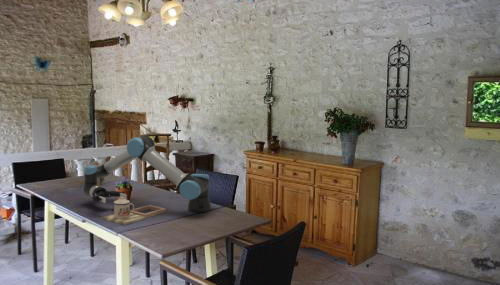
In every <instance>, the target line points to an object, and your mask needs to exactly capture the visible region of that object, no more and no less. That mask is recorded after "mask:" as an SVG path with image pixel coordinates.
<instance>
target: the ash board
mask: <svg viewBox="0 0 500 285" xmlns="http://www.w3.org/2000/svg"><path fill="white" fill-rule="evenodd" d="M103 220H104V221H108V222H111V223H116V224H119V225H121V226H122V225H123V226H127V225H130V224H134V223H137V222H140V221H143V220H146V218H145V216H141V215H137V214H133V213H130V217H129V218H126V219H116V218H114V213H113V214H110V215H105V216H103Z"/></svg>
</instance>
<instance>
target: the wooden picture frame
mask: <svg viewBox="0 0 500 285" xmlns="http://www.w3.org/2000/svg"><path fill="white" fill-rule="evenodd" d="M147 210H152V211H149V212H143V211H147ZM130 213H133V214H137V215H141V216H145V219H147V218H150V217H153V216H157V215H159V214H160V215H161V214H164V213H167V208H165V207H161V206H157V205H156V206H155V205H152V204H147V205H144V206H140V207H137V208H135V207H134V209H133V210H132V211H131V212H130Z"/></svg>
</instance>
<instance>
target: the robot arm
mask: <svg viewBox="0 0 500 285" xmlns="http://www.w3.org/2000/svg"><path fill="white" fill-rule="evenodd" d="M155 145H156V143H155V140H154V139H153V138H152V137H150V136H147V135H142V136H136V137H133V138H131V139H129V141H127V144H126V150H125V151H123V152H122V153H120V154H118V155H116V156H115V157H113V158H111V159H110V160H108V161H106V162H105V163H103V164H102V165H101V166H99V167H97V166H95V165H91V164H89V165H85V166H84V184H83V185H82V187H81V190H82V193H83V194H84V195H86V196H89V197H91V198H92V201H93V202H95V201H96V203H99V202H101V203H104V204H105V203H106V202H107V201H106V200H107V199H106V198H112V197H116V198H118V197H119V198H120V197H124V199H126V200H128V197H127V196H128V195H127V194H126V193H125V191H117V190H116V191H115V190H107V189H106V188H105V187H102V186H97V179H98V178H101V177H104V178H106V177H108V176H109V175H110V174H112V173H113V172H115V171H116V170H118V169H120V168H122V167H123V166H125V165H127V164H129V163H130V162H132V161H133V160H136V159H139V160H140V161H141V162H147V163H148V164H149V165H150V166H152V167H153V168H154V169H155V170H156V171H158V172H159V173H160V174H161V175H162V176H164V177H166V178H167V179H168V180H169V181H171V182H172V183H173V184H174V185H175V186H176V187H175V188H176V189H177V190H178V191H179V194H180V196H181V197H182V198H183V199H185V200H187V201H188V205H187V211H189V212H192V213H206V212H211V210H212V205H211V204H212V203H211V200H210V175H209V174H205V173H192V174H190V173H184V172H183V171H182V170H181V169H180V168H178V167H177V166H176V165H175V164H173V163H172V162H171V161H169V160H168V159H167V158H166V157H164V156H163V155H162V154H160V153H159V152H158V151H156V147H155Z"/></svg>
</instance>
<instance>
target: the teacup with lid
mask: <svg viewBox="0 0 500 285" xmlns="http://www.w3.org/2000/svg"><path fill="white" fill-rule="evenodd" d="M130 206H131V207H130ZM133 209H135V205H134V204H133V203H132V202H131V201H130V200H129V199H124V197H119V198H118V199H116V200H114V201H113V214H114V218H116V219H126V218H129V217H130V212H131V211H132V210H133Z"/></svg>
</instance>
